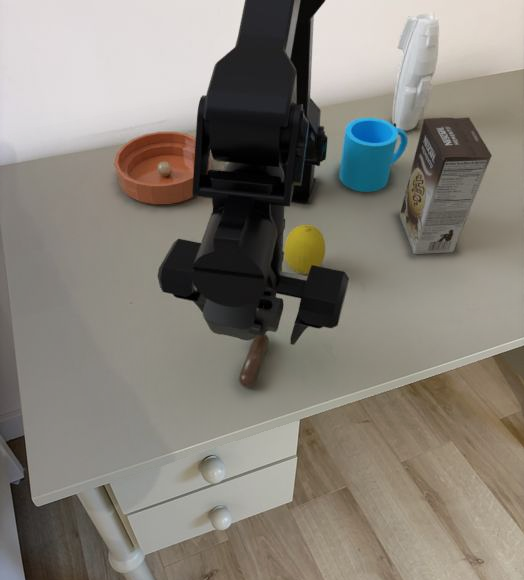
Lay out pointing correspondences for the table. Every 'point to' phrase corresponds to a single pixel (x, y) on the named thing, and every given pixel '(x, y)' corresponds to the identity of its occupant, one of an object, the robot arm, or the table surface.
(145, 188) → the bowl
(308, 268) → the lemon
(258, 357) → the brown sausage
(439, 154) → the coffee box
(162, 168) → the bead
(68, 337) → the table surface
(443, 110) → the table surface
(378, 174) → the mug
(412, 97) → the white tall rounded piece
